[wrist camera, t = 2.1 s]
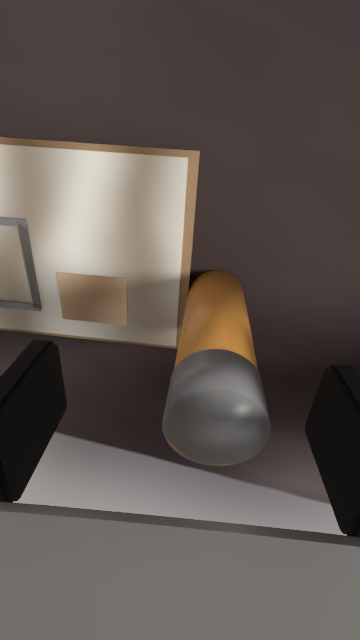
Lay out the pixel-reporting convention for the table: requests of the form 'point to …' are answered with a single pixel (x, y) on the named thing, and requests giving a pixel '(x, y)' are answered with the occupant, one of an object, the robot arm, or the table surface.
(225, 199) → the table surface
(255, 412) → the marker
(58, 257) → the sheet
